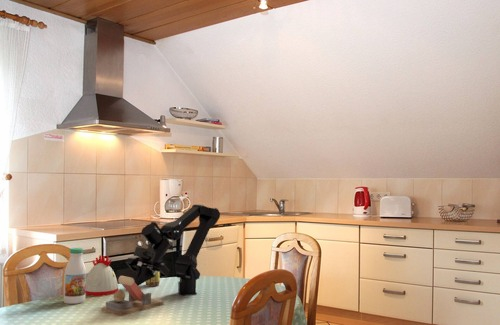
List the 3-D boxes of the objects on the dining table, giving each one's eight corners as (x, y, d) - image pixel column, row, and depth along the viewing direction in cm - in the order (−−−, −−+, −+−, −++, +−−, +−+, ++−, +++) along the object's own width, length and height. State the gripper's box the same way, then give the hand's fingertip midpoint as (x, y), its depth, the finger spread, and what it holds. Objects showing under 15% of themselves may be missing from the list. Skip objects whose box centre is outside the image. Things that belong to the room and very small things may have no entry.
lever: (138, 295, 175) (121, 274, 168) (148, 297, 172) (131, 276, 165) (134, 301, 173) (116, 280, 167) (143, 303, 170) (126, 282, 164)
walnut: (120, 299, 167) (120, 288, 167) (127, 301, 165) (127, 290, 165) (110, 302, 164) (111, 290, 164) (118, 304, 161) (118, 292, 162)
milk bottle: (58, 302, 174) (61, 248, 174) (75, 298, 180) (77, 246, 181) (73, 305, 170) (75, 250, 171) (89, 301, 177) (91, 248, 178)
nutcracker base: (144, 300, 180) (145, 287, 181) (162, 304, 175) (163, 291, 175) (101, 311, 164) (102, 296, 164) (120, 316, 158) (120, 301, 159)
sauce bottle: (161, 284, 209) (162, 239, 209) (157, 287, 202) (158, 241, 203) (146, 283, 209) (148, 239, 210) (142, 286, 203) (144, 240, 204)
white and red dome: (107, 297, 184) (108, 259, 184) (75, 294, 186) (77, 256, 187) (123, 289, 197) (125, 253, 198) (94, 287, 200) (95, 252, 201)
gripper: (129, 236, 180) (105, 269, 171) (164, 241, 169) (140, 276, 160) (144, 254, 186) (122, 287, 177) (179, 259, 176) (157, 295, 166)
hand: (134, 286), depth 170 cm, fingers closed, pressing on lever
